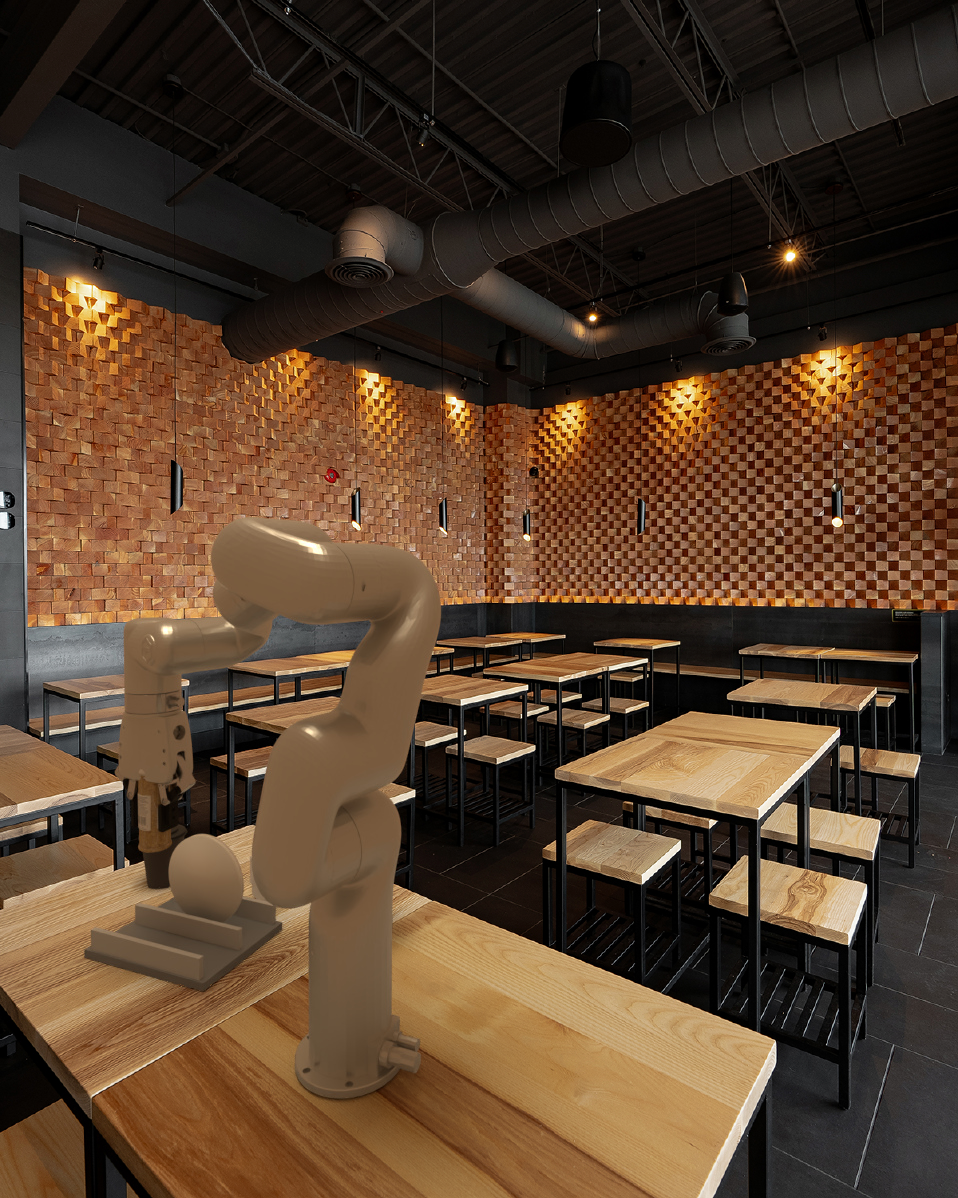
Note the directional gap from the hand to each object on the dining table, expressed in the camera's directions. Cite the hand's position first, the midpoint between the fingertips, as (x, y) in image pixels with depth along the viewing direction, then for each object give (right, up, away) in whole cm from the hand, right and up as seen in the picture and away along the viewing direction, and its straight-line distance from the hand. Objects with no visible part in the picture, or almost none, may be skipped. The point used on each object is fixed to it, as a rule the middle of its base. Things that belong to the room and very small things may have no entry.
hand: (154, 825), depth 99 cm
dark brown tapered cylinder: (-10, -18, +24) cm, 31 cm away
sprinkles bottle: (0, -4, 0) cm, 4 cm away
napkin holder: (+10, -19, +20) cm, 30 cm away
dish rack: (+3, -19, +4) cm, 20 cm away
